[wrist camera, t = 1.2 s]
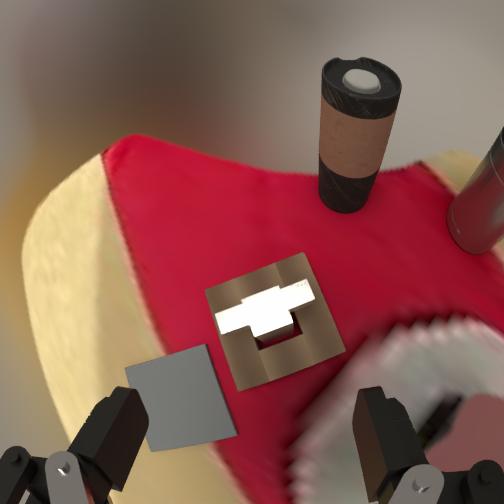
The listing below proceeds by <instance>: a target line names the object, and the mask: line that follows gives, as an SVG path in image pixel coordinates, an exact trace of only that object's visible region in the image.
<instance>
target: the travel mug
mask: <svg viewBox="0 0 504 504" xmlns="http://www.w3.org/2000/svg"><path fill="white" fill-rule="evenodd" d="M401 88H402V85H401V81H400V78H399V77H398V76H397V74H396V73H395V72H394V71H393V70H391V69H390V68H389V67H388V66H386V65H384V64H382V63H380V62H378V61H375V60H373V59H370V58H365V57H361V58H359V59H356V60H342V59H340V58H338V57H337V58H334V59H331V60H329V61H328V62H327V63H326V64H325V65H324V67H323V69H322V89H321V90H322V91H321V117H320V138H319V195H320V198H321V200H322V201H323V203H324V204H325V205H326V206H327V207H328V208H330V209H331V210H333V211H336V212H339V213H352V212H355V211H357V210H359V209H360V208H362V207H363V206H364V204H365V203H366V201H367V199H368V196H369V194H370V191H371V189H372V186H373V184H374V181H375V179H376V176H377V174H378V171H379V169H380V166H381V163H382V159H383V156H384V153H385V150H386V146H387V143H388V139H389V136H390V132H391V129H392V125H393V121H394V117H395V114H396V110H397V106H398V102H399V98H400V93H401Z"/></svg>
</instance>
